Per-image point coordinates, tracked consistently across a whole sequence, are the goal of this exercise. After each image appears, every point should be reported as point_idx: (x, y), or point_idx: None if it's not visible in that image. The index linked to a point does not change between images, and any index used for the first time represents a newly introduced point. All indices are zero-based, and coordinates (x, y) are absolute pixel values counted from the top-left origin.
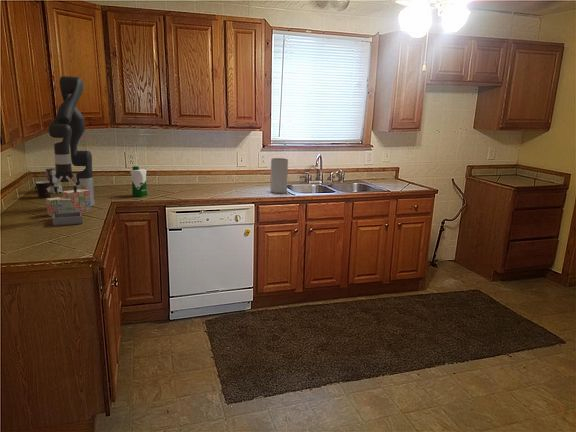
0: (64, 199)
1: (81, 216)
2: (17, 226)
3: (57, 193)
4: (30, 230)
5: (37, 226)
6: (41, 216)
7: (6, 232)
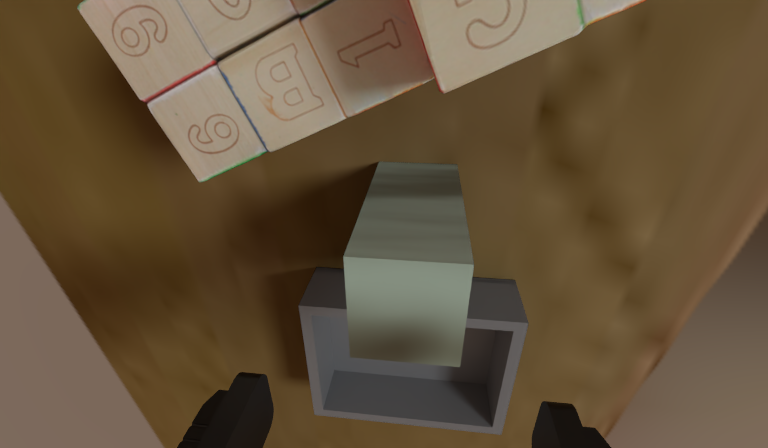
0: (380, 293)
1: (498, 433)
2: (133, 309)
3: (271, 417)
4: None
5: (243, 346)
6: None
7: (132, 387)
